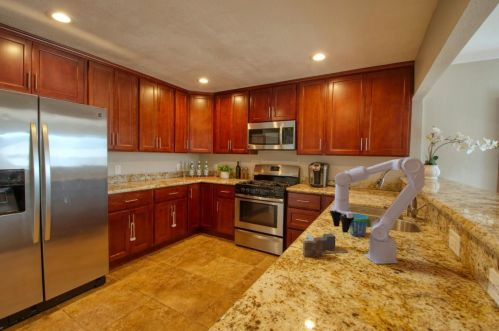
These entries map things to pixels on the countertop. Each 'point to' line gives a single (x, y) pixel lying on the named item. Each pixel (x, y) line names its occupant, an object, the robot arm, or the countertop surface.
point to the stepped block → (328, 241)
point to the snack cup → (359, 224)
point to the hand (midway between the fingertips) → (340, 229)
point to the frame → (315, 248)
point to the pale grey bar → (309, 238)
